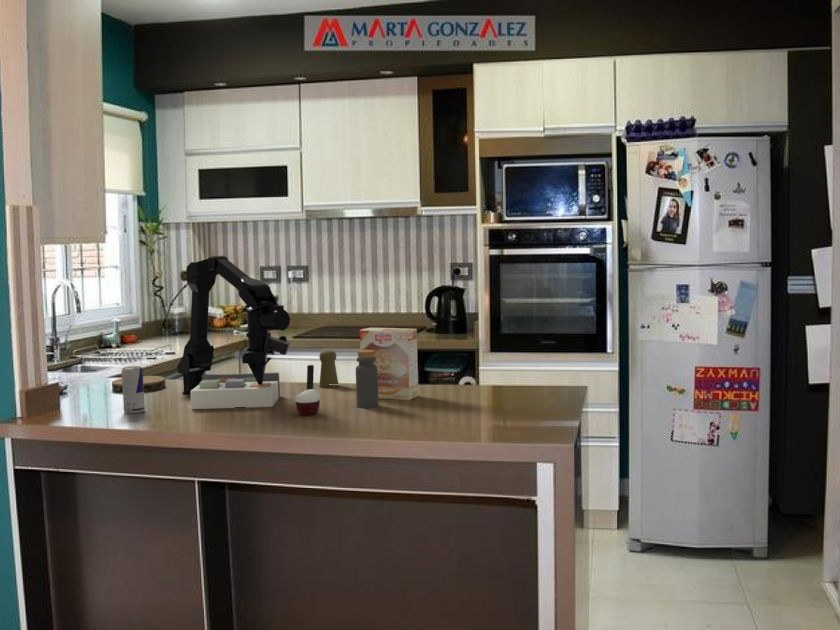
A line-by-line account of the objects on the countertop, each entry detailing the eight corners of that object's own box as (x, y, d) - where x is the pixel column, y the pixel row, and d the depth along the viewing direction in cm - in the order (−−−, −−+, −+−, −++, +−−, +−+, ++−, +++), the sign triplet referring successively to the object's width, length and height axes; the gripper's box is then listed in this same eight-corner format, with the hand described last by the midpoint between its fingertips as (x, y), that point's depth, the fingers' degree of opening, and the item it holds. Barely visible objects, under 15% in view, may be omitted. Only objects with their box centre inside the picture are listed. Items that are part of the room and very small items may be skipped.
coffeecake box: (360, 398, 237) (358, 329, 235) (371, 393, 243) (369, 327, 242) (409, 400, 231) (407, 330, 229) (419, 395, 238) (417, 327, 236)
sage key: (200, 396, 230) (199, 382, 230) (204, 393, 235) (203, 379, 234) (217, 396, 230) (216, 382, 230) (220, 393, 235) (219, 379, 235)
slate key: (225, 396, 230) (225, 381, 230) (229, 393, 235) (228, 379, 235) (242, 395, 231) (241, 381, 230) (245, 392, 235) (244, 378, 235)
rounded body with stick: (308, 419, 212) (307, 373, 210) (288, 417, 214) (286, 371, 213) (329, 410, 220) (327, 366, 218) (309, 408, 223) (308, 364, 221)
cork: (340, 384, 260) (339, 349, 259) (336, 387, 254) (335, 351, 253) (321, 384, 261) (320, 349, 260) (317, 387, 255) (315, 352, 254)
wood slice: (162, 392, 256) (162, 382, 256) (108, 395, 253) (107, 385, 252) (167, 383, 271) (167, 374, 271) (116, 386, 268) (115, 377, 268)
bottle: (382, 404, 227) (380, 349, 225) (372, 408, 221) (370, 352, 220) (363, 403, 229) (361, 349, 228) (352, 407, 224) (350, 351, 222)
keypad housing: (191, 409, 227) (189, 383, 226) (203, 398, 242) (202, 374, 241) (272, 406, 227) (271, 381, 227) (280, 396, 242) (279, 372, 242)
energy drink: (149, 410, 227) (146, 366, 226) (136, 414, 222) (133, 369, 221) (132, 409, 229) (130, 366, 228) (119, 413, 224) (117, 369, 223)
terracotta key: (251, 400, 231) (250, 385, 230) (254, 397, 235) (253, 382, 235) (268, 399, 231) (267, 385, 231) (270, 396, 235) (269, 382, 235)
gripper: (282, 331, 222) (284, 389, 224) (291, 324, 241) (293, 377, 242) (240, 332, 222) (243, 390, 223) (252, 325, 241) (254, 379, 242)
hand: (260, 384), depth 233 cm, fingers closed, pressing on terracotta key
